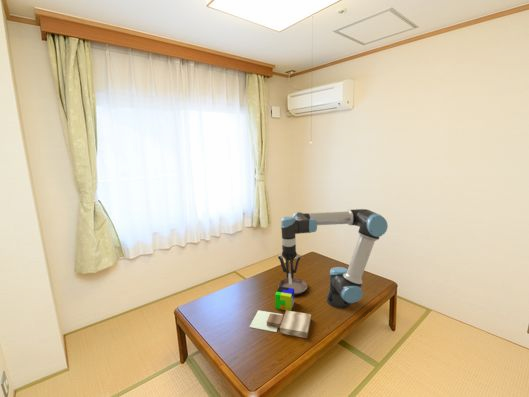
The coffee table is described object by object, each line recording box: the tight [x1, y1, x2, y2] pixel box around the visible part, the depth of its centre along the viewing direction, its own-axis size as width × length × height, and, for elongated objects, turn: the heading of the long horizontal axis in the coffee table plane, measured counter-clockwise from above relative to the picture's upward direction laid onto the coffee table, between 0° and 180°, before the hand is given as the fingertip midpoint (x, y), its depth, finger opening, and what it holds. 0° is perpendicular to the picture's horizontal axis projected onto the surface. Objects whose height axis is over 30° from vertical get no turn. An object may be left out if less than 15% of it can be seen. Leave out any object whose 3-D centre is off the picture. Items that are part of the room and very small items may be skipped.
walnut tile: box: [267, 313, 284, 329], centre depth 155 cm, size 8×8×2 cm
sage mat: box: [249, 309, 284, 333], centre depth 157 cm, size 16×16×1 cm
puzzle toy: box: [274, 286, 295, 311], centre depth 171 cm, size 10×10×10 cm
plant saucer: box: [278, 277, 308, 296], centre depth 191 cm, size 21×21×3 cm
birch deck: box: [279, 310, 312, 339], centre depth 152 cm, size 15×16×4 cm
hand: (290, 283), depth 153 cm, fingers closed
